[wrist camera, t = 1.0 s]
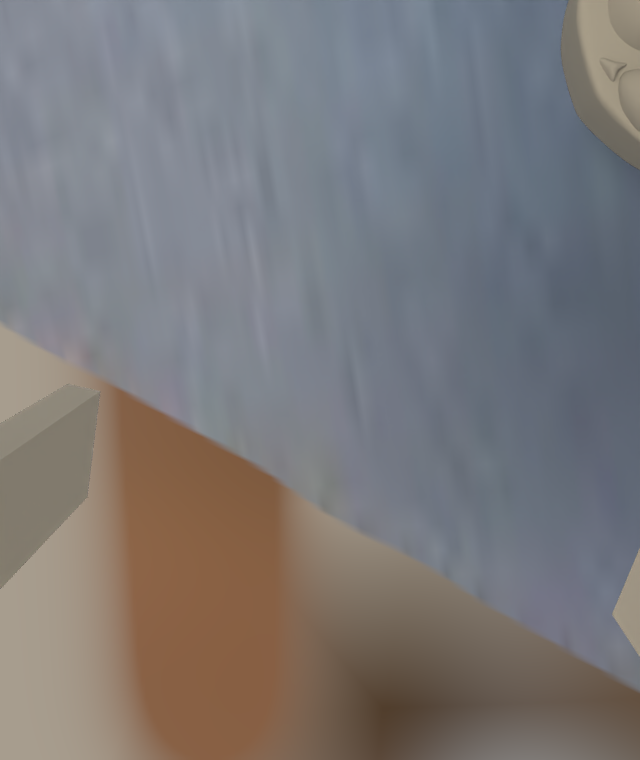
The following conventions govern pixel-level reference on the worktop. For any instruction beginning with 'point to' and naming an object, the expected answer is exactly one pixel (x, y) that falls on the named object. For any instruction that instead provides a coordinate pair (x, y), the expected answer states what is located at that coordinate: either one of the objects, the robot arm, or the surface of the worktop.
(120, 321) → the worktop surface
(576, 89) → the lumpy-topped squat cylinder
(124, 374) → the worktop surface
